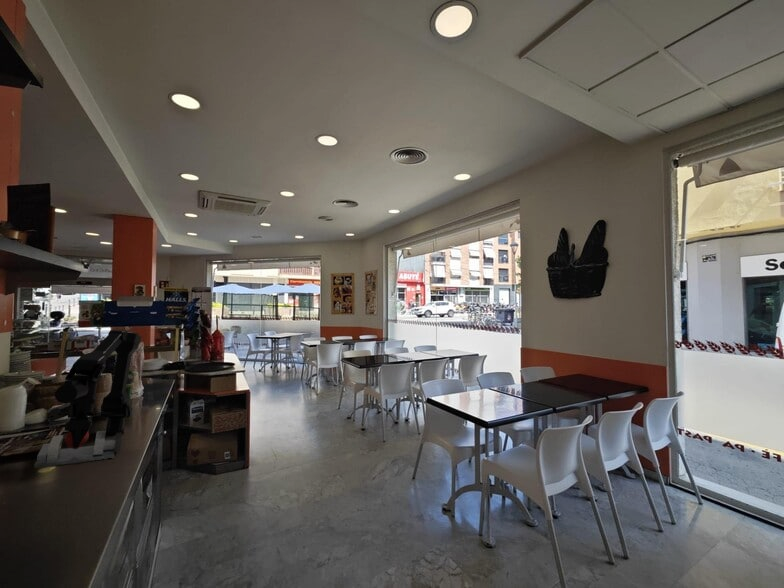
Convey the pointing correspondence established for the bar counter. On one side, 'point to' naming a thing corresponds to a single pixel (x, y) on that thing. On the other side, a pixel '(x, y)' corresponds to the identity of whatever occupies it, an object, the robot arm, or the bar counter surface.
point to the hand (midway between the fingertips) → (76, 444)
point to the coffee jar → (128, 386)
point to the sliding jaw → (106, 443)
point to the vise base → (67, 454)
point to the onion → (70, 444)
